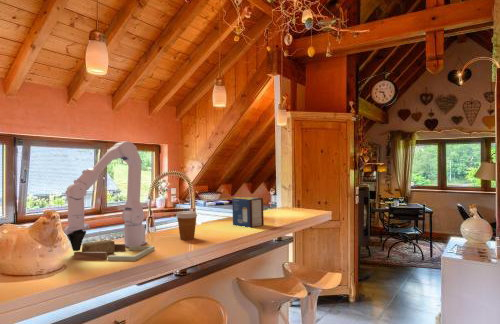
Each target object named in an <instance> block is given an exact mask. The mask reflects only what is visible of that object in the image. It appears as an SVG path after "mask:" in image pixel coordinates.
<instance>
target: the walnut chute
mask: <svg viewBox="0 0 500 324" xmlns="http://www.w3.org/2000/svg"><path fill="white" fill-rule="evenodd" d="M120 251H121V252H124V251H126V247H125V243H115V250H114V252H120ZM73 260H77V261H78V260H79V261H80V260H84V261H85V260H92V261H93V260H94V261H95V260H97V261H99V260H100V261H106V260H108V254H107V252H82V251H73Z"/></svg>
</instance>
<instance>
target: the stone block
mask: <svg viewBox="0 0 500 324" xmlns="http://www.w3.org/2000/svg"><path fill="white" fill-rule="evenodd" d="M115 244H116V242H115V240H112V239H108V240H106V239H105V240H99V241H98V240H97V241H92V242H91V241H90V242H86V243H85V242H84V243H82V244H81V252H107V255H110V254H113V253H115V251H114V250H115Z"/></svg>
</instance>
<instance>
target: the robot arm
mask: <svg viewBox="0 0 500 324" xmlns="http://www.w3.org/2000/svg"><path fill="white" fill-rule="evenodd" d="M117 159H121V160H122V161H124V162H125V163H126V164H127V165H128V168H127V192H126V193H127V194H126V202H125V204H124V209H123V210H122V213H121V218H122V220H123V221H124V223H123V224H124V225H123V226H124V229H123V230H124V233H123V234H124V239H123V240H124V244H125V248H126V247H127V248H129V246H144V245H145V244H147V243H148V241H147V240H146V227H145V224H143V221H144V220H145V213H144V210H143V204H142V203H141V185H142V184H141V183H142V159H141V156H140V154H139V152H138V147H137V146H136V145H135V144H134V143H133V142H132V141H129V140H128V141H127V140H126V141H122V142H116V143H115V144H114V145H113V146H112V147H110V148H109V149H108V150H107V151H106V153H105V152H104V154H103V156H102V157H101V158H100V159H99V160H98V161H97V162H96V164H94V165H93V166H92V168H86V169H83V170H82V171H81V175H80V176H79V177H78V178H77V179H74V180H73V184H69V186H67V188H66V190H65V194H66V195H65V196H66V197H67V226H65V228H63V229H62V230H63V231H64V233H65V234H66V235H65V236H66V237H67V239H68V240H69V243H70V245H71V249H72V251H73V252H80V251H81V249H82V245H83V240H84V238H85V236H86V234H87V231H86V230H87V229H90V223H85V197H86V195H87V193H88V192H87V191H88V190H90V189H91V187H92V186H93V185H95V183H96V182H97V181H98V180H99V179H100V173H101V172H102V171H103V170H104V169H105V168H107V167H108V166H109V164H111V163H112V162H113V161H114V160H117Z"/></svg>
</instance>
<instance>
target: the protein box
mask: <svg viewBox="0 0 500 324" xmlns="http://www.w3.org/2000/svg"><path fill="white" fill-rule="evenodd" d="M231 198H232V199H231V201H232V225H233V226H237V225H238V227H242V226H245V227H244V228H248V227H251V228H256V227H255V226H258V227H262V226H261V225H265V223H264V219H265V217H264V198H263V197H255V196H239V197H231Z"/></svg>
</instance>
